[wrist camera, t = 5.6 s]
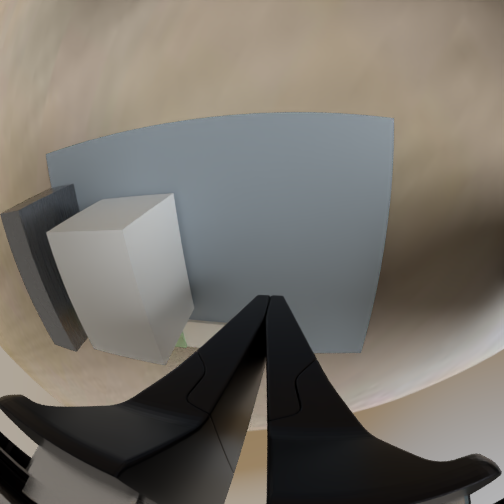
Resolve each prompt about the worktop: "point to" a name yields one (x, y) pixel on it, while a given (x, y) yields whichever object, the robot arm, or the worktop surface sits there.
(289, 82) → the worktop surface
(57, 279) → the dark grey upright slab
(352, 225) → the board
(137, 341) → the block
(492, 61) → the worktop surface
